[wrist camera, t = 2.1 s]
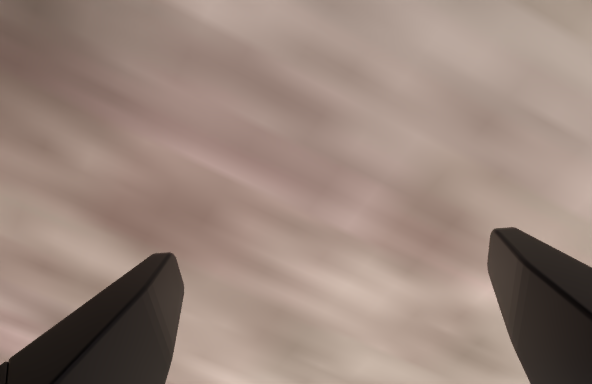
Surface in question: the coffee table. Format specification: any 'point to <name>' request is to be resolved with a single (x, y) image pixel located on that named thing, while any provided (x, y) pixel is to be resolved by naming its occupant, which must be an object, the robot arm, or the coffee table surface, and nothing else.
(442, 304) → the coffee table surface
